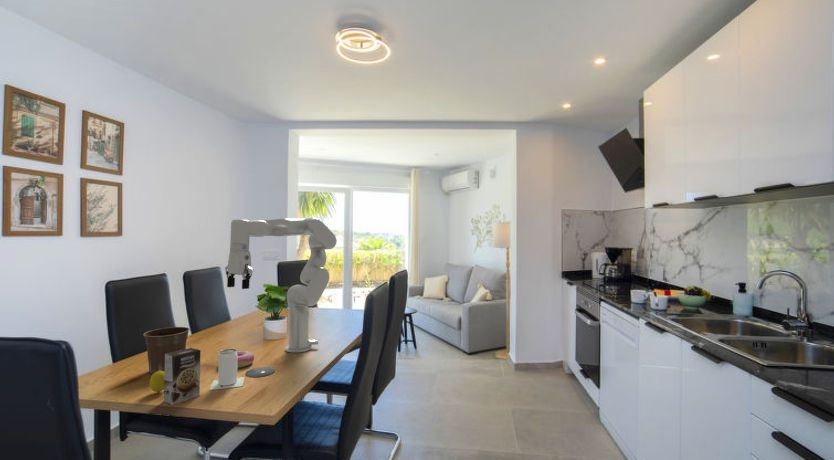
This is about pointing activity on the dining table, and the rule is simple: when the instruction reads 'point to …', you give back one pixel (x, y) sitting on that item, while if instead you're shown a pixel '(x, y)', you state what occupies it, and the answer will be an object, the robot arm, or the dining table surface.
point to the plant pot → (164, 345)
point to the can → (227, 367)
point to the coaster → (260, 371)
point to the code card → (237, 384)
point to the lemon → (157, 381)
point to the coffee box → (182, 375)
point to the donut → (244, 358)
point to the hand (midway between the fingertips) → (238, 287)
